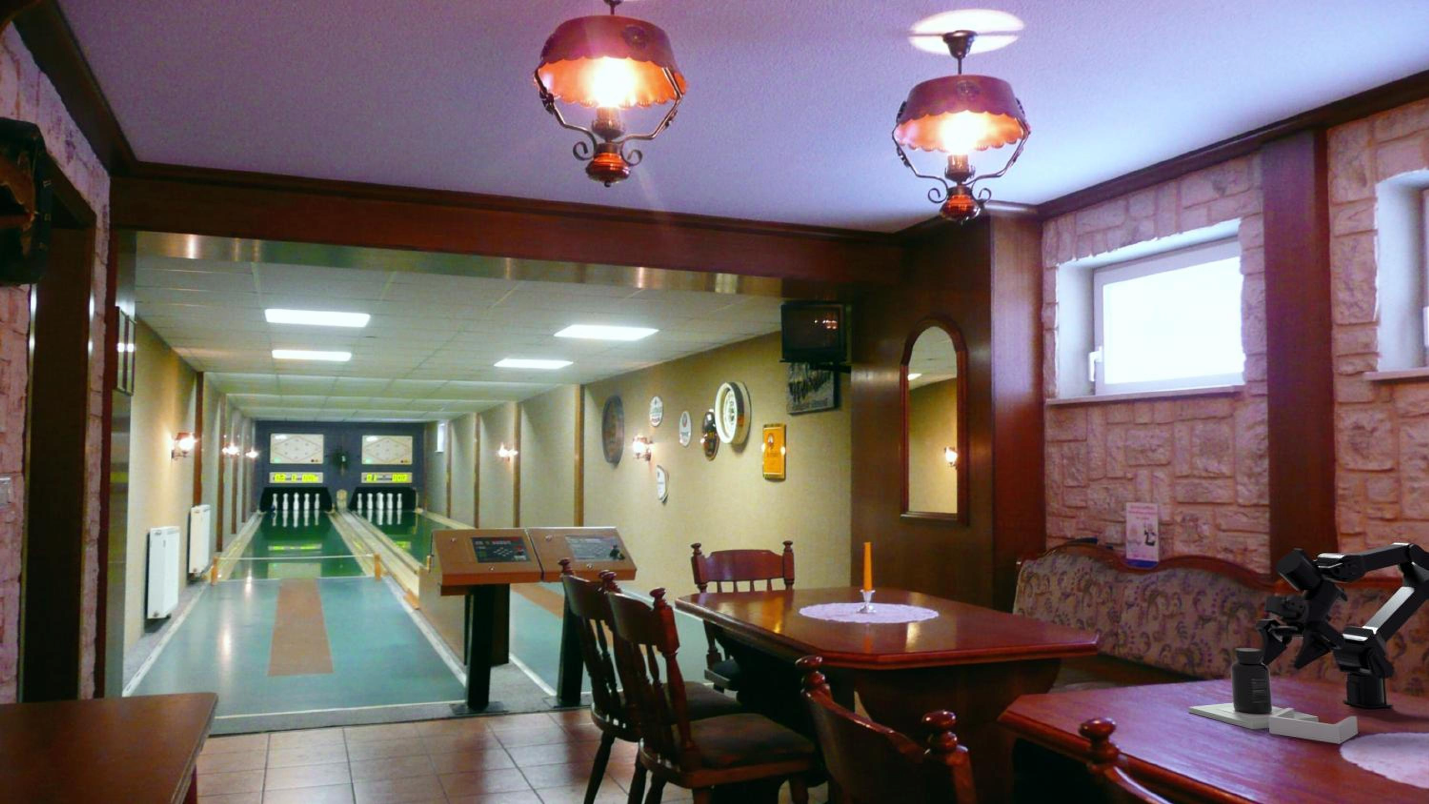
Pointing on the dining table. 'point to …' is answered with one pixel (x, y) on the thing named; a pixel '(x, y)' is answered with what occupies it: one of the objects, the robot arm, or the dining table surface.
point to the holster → (1312, 727)
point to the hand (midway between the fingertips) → (1278, 667)
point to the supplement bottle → (1251, 682)
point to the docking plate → (1243, 715)
